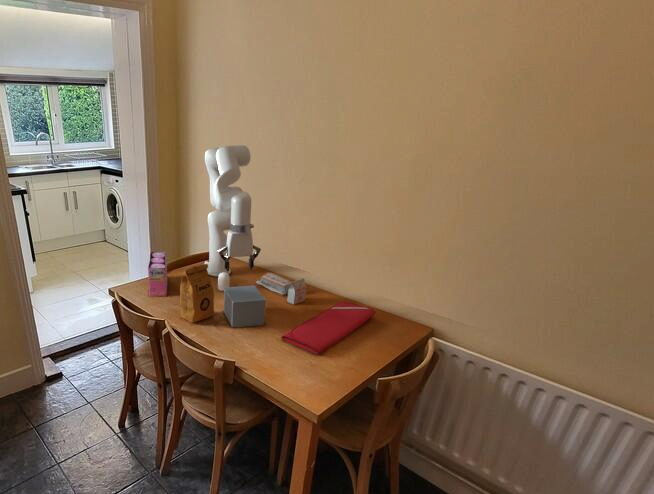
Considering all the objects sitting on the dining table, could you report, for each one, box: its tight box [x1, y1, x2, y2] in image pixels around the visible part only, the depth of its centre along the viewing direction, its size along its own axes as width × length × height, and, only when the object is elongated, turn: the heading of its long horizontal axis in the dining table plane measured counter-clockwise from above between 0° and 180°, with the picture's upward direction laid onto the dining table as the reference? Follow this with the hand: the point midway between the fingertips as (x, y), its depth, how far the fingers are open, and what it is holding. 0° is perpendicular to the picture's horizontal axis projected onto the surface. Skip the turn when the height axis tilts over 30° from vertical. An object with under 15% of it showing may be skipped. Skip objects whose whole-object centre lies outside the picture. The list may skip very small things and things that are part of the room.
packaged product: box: [255, 272, 292, 296], centre depth 190 cm, size 18×5×10 cm
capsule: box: [217, 272, 231, 292], centre depth 189 cm, size 5×5×8 cm
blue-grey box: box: [223, 285, 267, 328], centre depth 161 cm, size 15×13×11 cm
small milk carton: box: [287, 277, 307, 305], centre depth 175 cm, size 4×7×10 cm, turn 124°
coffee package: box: [179, 263, 215, 324], centre depth 160 cm, size 10×12×22 cm
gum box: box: [147, 251, 169, 297], centre depth 192 cm, size 24×8×14 cm, turn 2°
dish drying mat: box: [281, 301, 377, 355], centre depth 154 cm, size 16×41×4 cm, turn 132°
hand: (238, 269), depth 166 cm, fingers open, 9 cm apart
